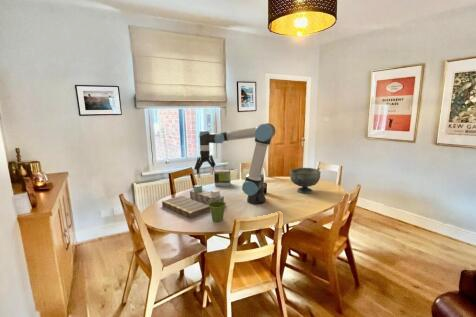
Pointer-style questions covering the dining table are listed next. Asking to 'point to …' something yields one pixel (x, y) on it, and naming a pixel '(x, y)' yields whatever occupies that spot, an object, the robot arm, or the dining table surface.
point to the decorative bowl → (305, 178)
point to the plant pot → (217, 210)
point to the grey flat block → (186, 206)
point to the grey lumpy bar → (204, 197)
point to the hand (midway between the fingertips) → (205, 176)
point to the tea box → (222, 177)
